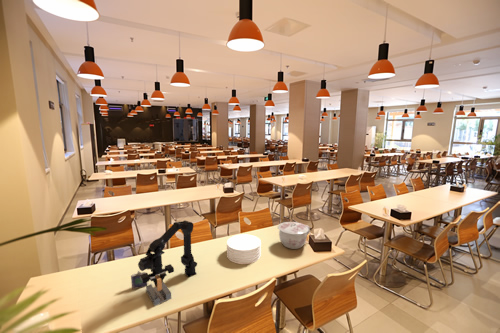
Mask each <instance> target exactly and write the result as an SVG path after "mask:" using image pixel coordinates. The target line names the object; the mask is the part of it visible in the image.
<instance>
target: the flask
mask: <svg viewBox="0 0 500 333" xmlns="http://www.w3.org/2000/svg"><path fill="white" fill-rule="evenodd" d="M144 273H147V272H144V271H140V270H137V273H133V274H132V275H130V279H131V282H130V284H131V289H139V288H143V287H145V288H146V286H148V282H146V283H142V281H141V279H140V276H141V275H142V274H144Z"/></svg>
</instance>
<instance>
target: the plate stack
mask: <svg viewBox="0 0 500 333" xmlns="http://www.w3.org/2000/svg"><path fill="white" fill-rule="evenodd" d="M261 256H262V241H261V239H260V238H259V237H258V236H255V235H252V234H245V233H244V234H243V233H241V234H236V235H235V234H234V235H233V236H230V237H229V238H228V239H227V240H226V257H227V259H228V260H229V261H230V262H232V263H235V264H240V265H247V264H248V265H249V264H252V263H255V262H257V261H258V260H260V258H261Z"/></svg>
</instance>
